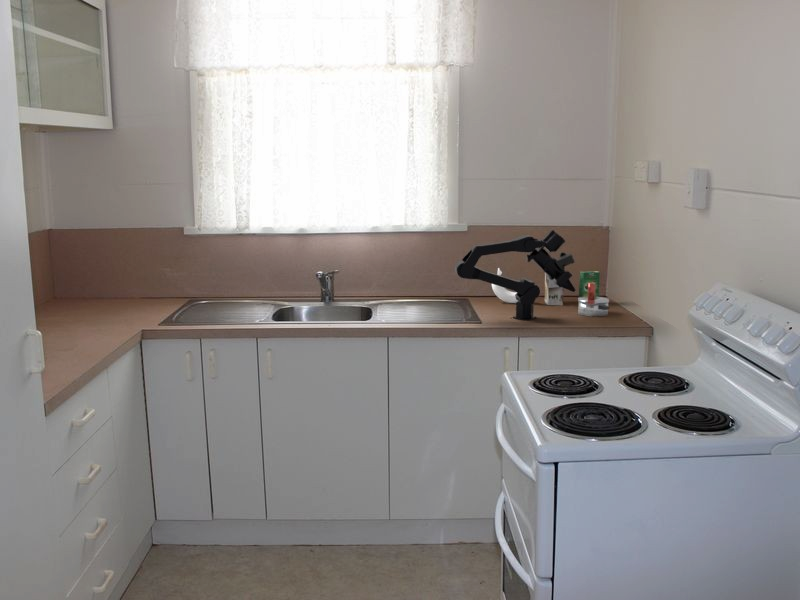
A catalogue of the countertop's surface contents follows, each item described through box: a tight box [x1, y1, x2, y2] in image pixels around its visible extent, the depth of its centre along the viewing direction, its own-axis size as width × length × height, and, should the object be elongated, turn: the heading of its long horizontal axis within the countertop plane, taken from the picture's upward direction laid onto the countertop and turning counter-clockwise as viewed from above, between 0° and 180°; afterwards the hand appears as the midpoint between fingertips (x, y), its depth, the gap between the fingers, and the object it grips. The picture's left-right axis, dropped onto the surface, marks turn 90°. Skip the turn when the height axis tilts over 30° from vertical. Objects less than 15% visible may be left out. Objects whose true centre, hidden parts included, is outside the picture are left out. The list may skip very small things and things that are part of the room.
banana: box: [491, 267, 518, 304], centre depth 330 cm, size 5×19×15 cm, turn 83°
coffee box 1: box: [544, 272, 565, 306], centre depth 330 cm, size 9×6×16 cm
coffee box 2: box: [578, 270, 601, 298], centre depth 330 cm, size 8×3×13 cm, turn 109°
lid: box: [577, 283, 610, 304], centre depth 307 cm, size 15×12×8 cm
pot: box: [577, 302, 610, 318], centre depth 310 cm, size 16×11×4 cm
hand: (574, 291), depth 301 cm, fingers closed
